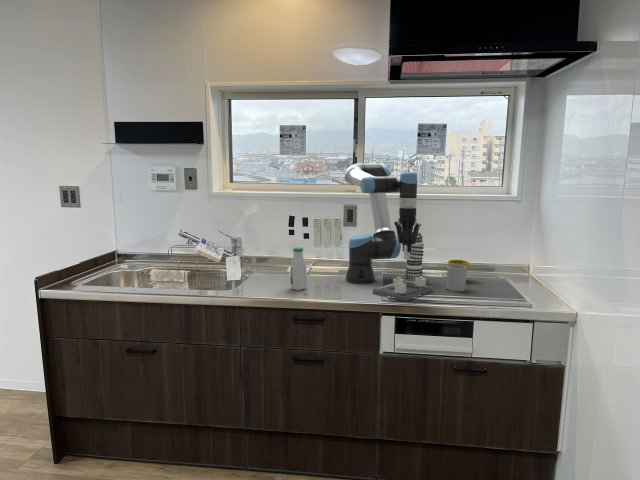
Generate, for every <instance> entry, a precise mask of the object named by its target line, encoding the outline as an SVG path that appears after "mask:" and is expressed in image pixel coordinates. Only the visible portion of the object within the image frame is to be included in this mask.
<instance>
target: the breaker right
mask: <svg viewBox="0 0 640 480" xmlns="http://www.w3.org/2000/svg"><path fill="white" fill-rule="evenodd" d="M415 286H419V287H424V286H427V278H424V275H423V276H420V277H418V278H415Z"/></svg>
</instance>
